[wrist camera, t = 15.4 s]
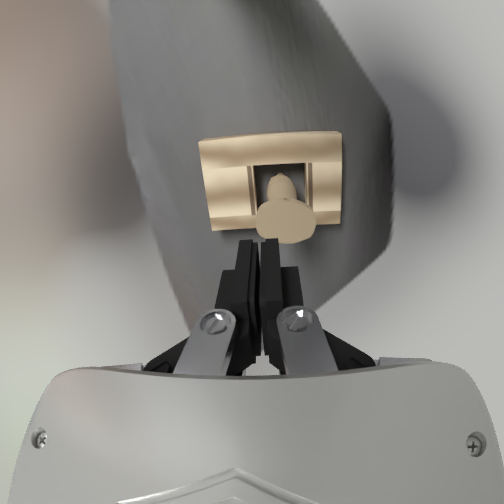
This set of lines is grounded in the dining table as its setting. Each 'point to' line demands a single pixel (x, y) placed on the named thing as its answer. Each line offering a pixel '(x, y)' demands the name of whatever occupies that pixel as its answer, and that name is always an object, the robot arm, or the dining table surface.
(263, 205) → the handle
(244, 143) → the board
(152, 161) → the dining table surface
